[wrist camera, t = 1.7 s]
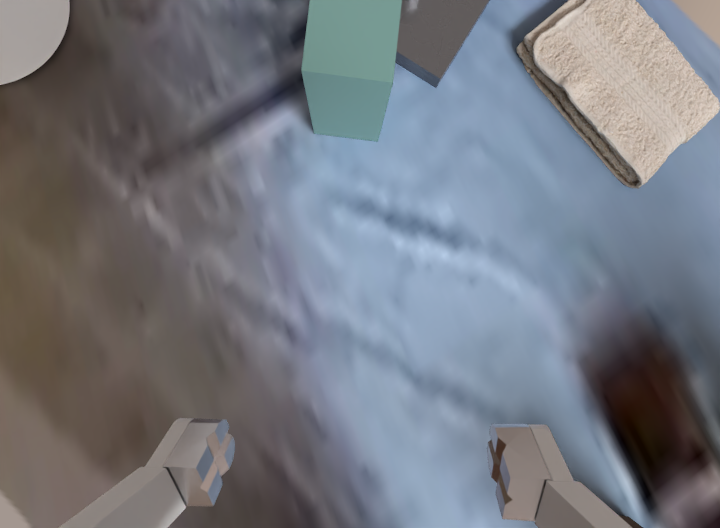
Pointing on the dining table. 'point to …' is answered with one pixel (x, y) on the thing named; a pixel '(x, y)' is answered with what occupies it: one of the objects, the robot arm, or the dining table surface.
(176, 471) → the robot arm
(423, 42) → the stub plate
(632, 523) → the beer bottle
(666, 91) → the washcloth
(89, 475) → the dining table surface
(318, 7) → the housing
